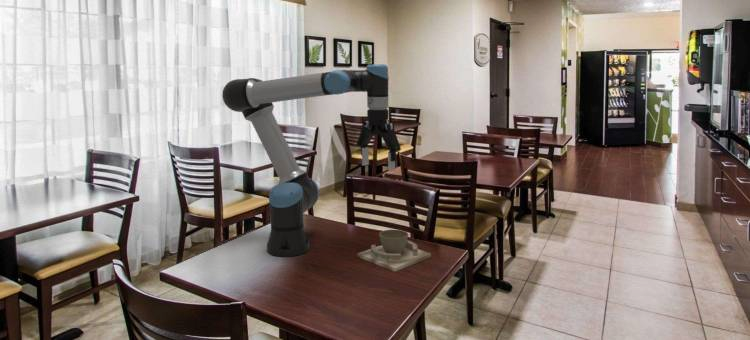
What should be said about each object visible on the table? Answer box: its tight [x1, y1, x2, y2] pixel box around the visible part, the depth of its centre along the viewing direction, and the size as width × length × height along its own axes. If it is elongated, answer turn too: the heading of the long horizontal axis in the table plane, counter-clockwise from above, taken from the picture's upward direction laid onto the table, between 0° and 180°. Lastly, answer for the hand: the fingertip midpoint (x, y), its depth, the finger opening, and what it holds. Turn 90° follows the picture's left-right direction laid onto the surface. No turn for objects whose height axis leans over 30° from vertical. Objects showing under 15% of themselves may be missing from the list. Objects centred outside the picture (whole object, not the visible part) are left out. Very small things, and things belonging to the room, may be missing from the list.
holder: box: [357, 239, 432, 273], centre depth 171 cm, size 18×18×4 cm
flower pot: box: [378, 229, 410, 254], centre depth 170 cm, size 10×10×7 cm
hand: (378, 167), depth 179 cm, fingers open, 13 cm apart
